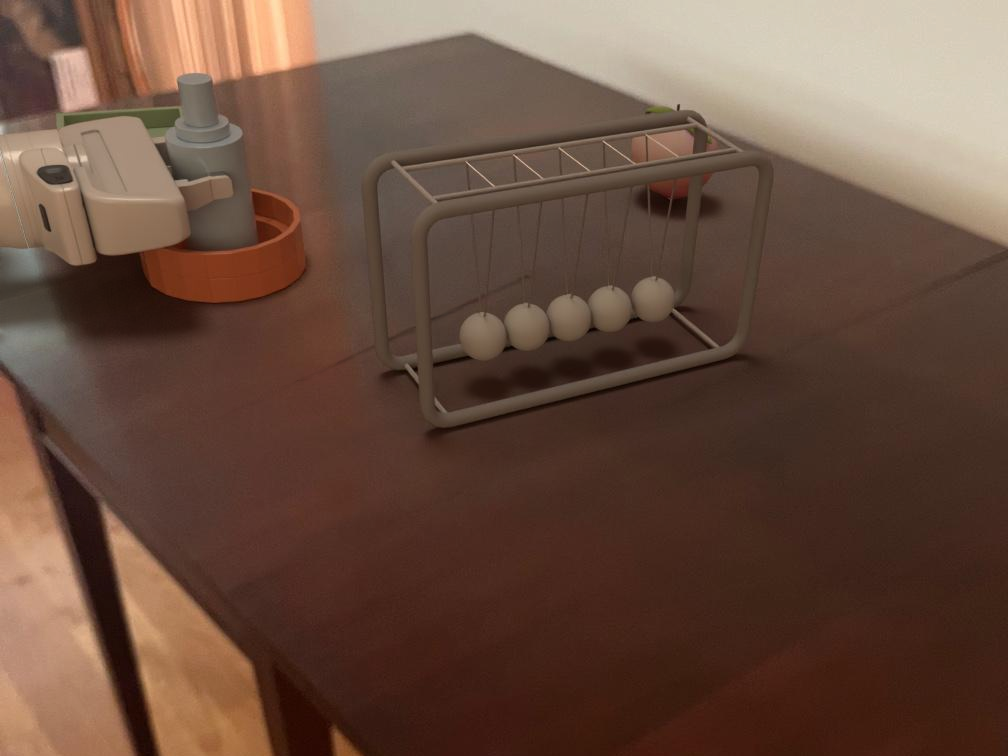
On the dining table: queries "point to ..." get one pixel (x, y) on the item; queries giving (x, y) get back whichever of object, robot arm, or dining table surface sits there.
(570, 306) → the newton's cradle
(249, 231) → the bottle
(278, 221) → the bowl
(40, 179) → the robot arm
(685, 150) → the decorative fruit
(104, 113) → the tray
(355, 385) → the dining table surface
